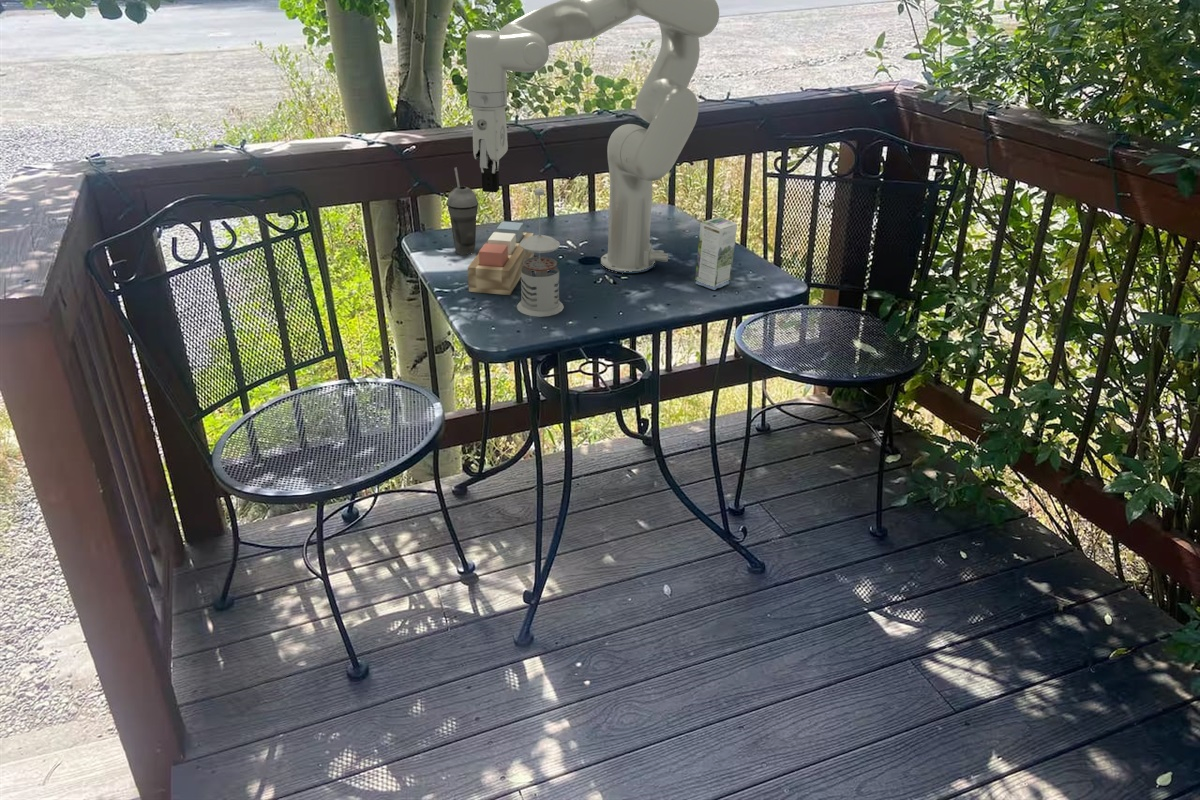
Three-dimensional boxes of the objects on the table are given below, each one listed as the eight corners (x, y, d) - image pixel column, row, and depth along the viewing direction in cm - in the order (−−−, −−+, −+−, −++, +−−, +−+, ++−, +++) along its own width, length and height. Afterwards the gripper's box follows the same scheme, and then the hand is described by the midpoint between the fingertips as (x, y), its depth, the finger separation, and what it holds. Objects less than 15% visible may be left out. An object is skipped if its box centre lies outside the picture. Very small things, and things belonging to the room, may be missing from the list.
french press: (525, 319, 178) (523, 198, 166) (507, 297, 188) (504, 181, 175) (571, 312, 182) (572, 193, 169) (550, 291, 191) (550, 176, 179)
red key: (508, 262, 193) (507, 245, 191) (502, 271, 188) (501, 253, 186) (485, 260, 193) (485, 243, 191) (479, 269, 189) (478, 251, 187)
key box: (534, 255, 209) (533, 233, 207) (509, 295, 189) (509, 270, 186) (497, 252, 210) (496, 230, 208) (468, 291, 190) (467, 267, 187)
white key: (516, 250, 199) (515, 233, 197) (510, 258, 195) (510, 241, 193) (494, 249, 200) (493, 232, 198) (488, 256, 196) (488, 239, 194)
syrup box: (710, 277, 200) (716, 215, 193) (731, 285, 197) (737, 222, 189) (694, 284, 197) (699, 221, 189) (714, 292, 193) (721, 228, 186)
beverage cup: (478, 257, 207) (474, 172, 197) (447, 256, 207) (441, 171, 197) (482, 246, 214) (479, 164, 204) (452, 245, 214) (447, 163, 204)
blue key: (523, 239, 206) (523, 222, 204) (518, 246, 201) (518, 230, 199) (502, 237, 206) (502, 221, 204) (497, 245, 202) (496, 228, 200)
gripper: (496, 108, 167) (499, 203, 176) (515, 92, 179) (517, 182, 189) (458, 105, 168) (462, 200, 177) (479, 90, 180) (482, 179, 190)
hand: (490, 190), depth 183 cm, fingers closed
